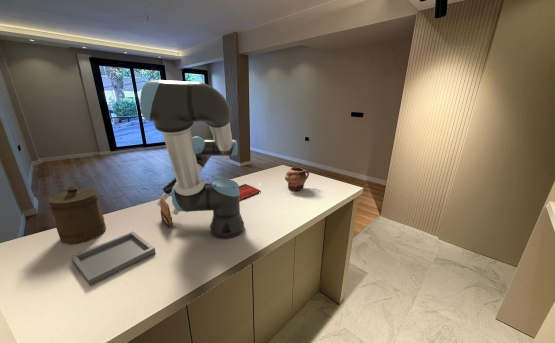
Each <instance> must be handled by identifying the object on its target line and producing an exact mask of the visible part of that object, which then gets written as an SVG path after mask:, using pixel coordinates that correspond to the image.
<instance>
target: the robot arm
mask: <svg viewBox="0 0 555 343" xmlns="http://www.w3.org/2000/svg"><path fill="white" fill-rule="evenodd" d="M139 98H140V112H141V114H142V117H143V118H144V120H146V121H148V122H153V124H154V127H155V129H156V130H157V131H158V132H160V133H162V135H163V139H164V143H165V146H166V149H167V153H168V157H169V161H170V163H171V166H172V170H173V173H174V178H173V179H172V180H171V181H170V182H169V183H167V184H166V185H165V186H164V187H163V188H162V191H163V193H162V195H161V196H160V198H162V199H163V200H164V201H165V202H167V201H166V200H168V198H169V196H170V194H171V196H170V197H171V202H172V205H173V207H174V208H173V209H172V211H170V213H171V214H174V215H176V216H177V215H178V214H179V213H180V212H183V213H184V212H185V213H188V212H203V211H204V212H205V211H208V212H209V211H210V212H211V211H212V215H213V216H212V219H211V223H210V225H209V229H210V230H209V232H210V234H211V235H212V236H213V237H214V238H217V239H221V240H222V239H223V240H224V239H225V240H226V239H227V240H228V239H232V238H236V237H238V236H240V235H241V234H242V233H243V232H244V230H245V222H244V219H243V217H242V214H241V211H240V210H241V207H240V203H241V201H239V195H240V192H239V186H240V185H239V184H238V182H236V181H234V180H233V179H230V178H222V177H221V178H215V179H213V180H211V182H210V183H205V179H204V178H203V177H202V176H200V174H201V172H202V170H203V169H204V167H205V166H206V164H207V163H208V162H209V160H210V158H212V157H215V156H216V157H232V156H237V155H238V149H239V148H238V141H237V140H236V139H233V137H232V136H233V135H232V130H231V123H230V122H231V120H232V116H233V115H232V110H231V106H230V104H229V101H227V99H226V97H224V95H223V94H222V93H220V91H219V90H217V89H216V88H214V87H213V86H211V85H209V84H207V83H204V82H200V81H181V80H164V79H159V80H148V81H146V82H145V83H144V84H143V86H142V88H141V92H140V97H139ZM194 122H203V123H205V124H206V125H207V126H209V129H210V132H211V135H212V138H213V139H203V137H201V136H192V132H191V128H192V127H193V126H194V125H195V124H194ZM160 198H159V200H157V202H156V205H157V206H159V207H160Z"/></svg>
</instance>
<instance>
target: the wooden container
mask: <svg viewBox="0 0 555 343" xmlns="http://www.w3.org/2000/svg"><path fill="white" fill-rule="evenodd" d="M48 203H49V206H50V210H51V214H52V218H53V221H54V225H55V228H56V231H57V235H58V237H59V239H60V240H59V241H60V242H61V243H62V244H64V245H78V244H82V243H86V242H88V241H89V242H90V241H91V240H94V239H95V238H98V237H100V236H101V235H102V234H104V233H105V231H106V230H107V226H106V222H105V218H104V214H103V211H102V208H101V204H100V200H99V196H98V193H97V190H96V189H93V188H80V189H79V187H78V186H76V185H68V187H66V190H65V191H64V192H60V193H58V194H54V195H53V196H51V197H49V199H48Z"/></svg>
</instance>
